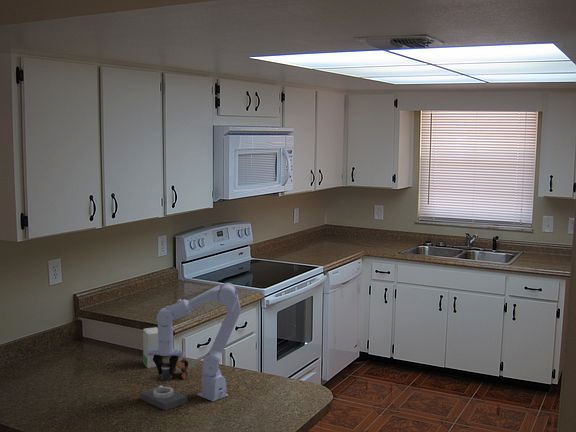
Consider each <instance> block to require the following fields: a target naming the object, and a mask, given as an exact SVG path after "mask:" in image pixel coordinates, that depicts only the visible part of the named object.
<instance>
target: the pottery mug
mask: <svg viewBox="0 0 576 432" xmlns="http://www.w3.org/2000/svg"><path fill="white" fill-rule="evenodd" d="M188 367H189V361H188V360H187V359H184V358H182V359H181V360H180V361H179V360H178V361H177V363H176V366H175V370H174V372H177V368H178V369H179V370H180V371H181V372H182V374H181V375H180V378H181V379H182V380H185V379H186V378H187V377H188V376H189V375H188V371H187V370H188Z"/></svg>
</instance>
